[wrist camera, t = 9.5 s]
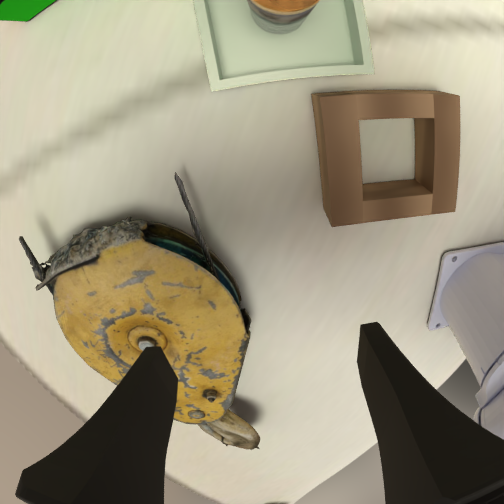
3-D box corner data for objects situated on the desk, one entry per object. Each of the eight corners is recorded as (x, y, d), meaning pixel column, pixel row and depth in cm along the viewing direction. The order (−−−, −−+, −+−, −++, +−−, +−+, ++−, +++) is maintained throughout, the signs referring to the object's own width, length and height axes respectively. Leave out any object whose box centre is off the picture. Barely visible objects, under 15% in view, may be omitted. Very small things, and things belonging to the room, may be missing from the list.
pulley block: (178, 473, 29) (-12, 265, 14) (178, 434, 34) (26, 225, 19) (298, 451, 29) (192, 179, 14) (288, 410, 34) (196, 154, 19)
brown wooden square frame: (437, 91, 15) (459, 95, 13) (436, 195, 18) (455, 211, 16) (311, 93, 16) (319, 96, 13) (323, 208, 19) (331, 226, 17)
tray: (336, -50, 11) (346, -63, 9) (361, 73, 15) (374, 74, 13) (192, -35, 11) (183, -47, 10) (216, 89, 16) (211, 91, 14)
